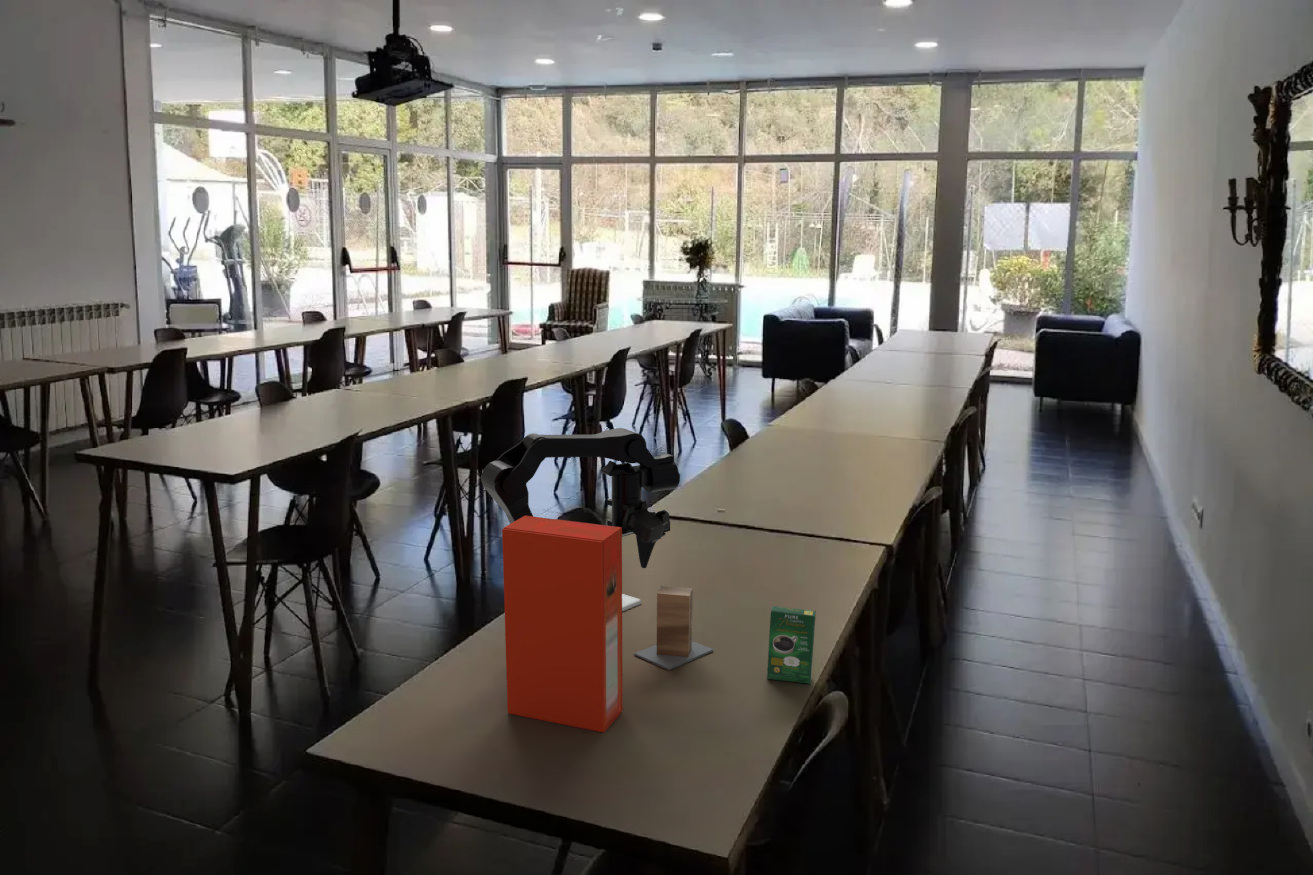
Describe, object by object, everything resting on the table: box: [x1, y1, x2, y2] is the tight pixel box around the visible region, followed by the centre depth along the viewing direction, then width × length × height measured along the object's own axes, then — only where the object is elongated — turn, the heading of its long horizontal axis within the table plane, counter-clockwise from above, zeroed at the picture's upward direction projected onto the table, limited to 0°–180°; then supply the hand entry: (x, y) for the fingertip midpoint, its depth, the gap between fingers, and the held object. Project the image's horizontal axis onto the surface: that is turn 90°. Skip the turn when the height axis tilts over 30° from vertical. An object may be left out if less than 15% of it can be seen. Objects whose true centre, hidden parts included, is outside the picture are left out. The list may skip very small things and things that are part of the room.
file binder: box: [501, 515, 624, 733], centre depth 165 cm, size 8×17×32 cm, turn 69°
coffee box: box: [766, 605, 816, 685], centre depth 180 cm, size 8×3×13 cm, turn 77°
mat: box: [633, 640, 714, 671], centre depth 192 cm, size 12×9×1 cm
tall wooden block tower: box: [656, 585, 693, 657], centre depth 191 cm, size 4×6×12 cm, turn 79°
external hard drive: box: [622, 593, 642, 613], centre depth 215 cm, size 2×8×12 cm
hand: (626, 573), depth 197 cm, fingers open, 9 cm apart
